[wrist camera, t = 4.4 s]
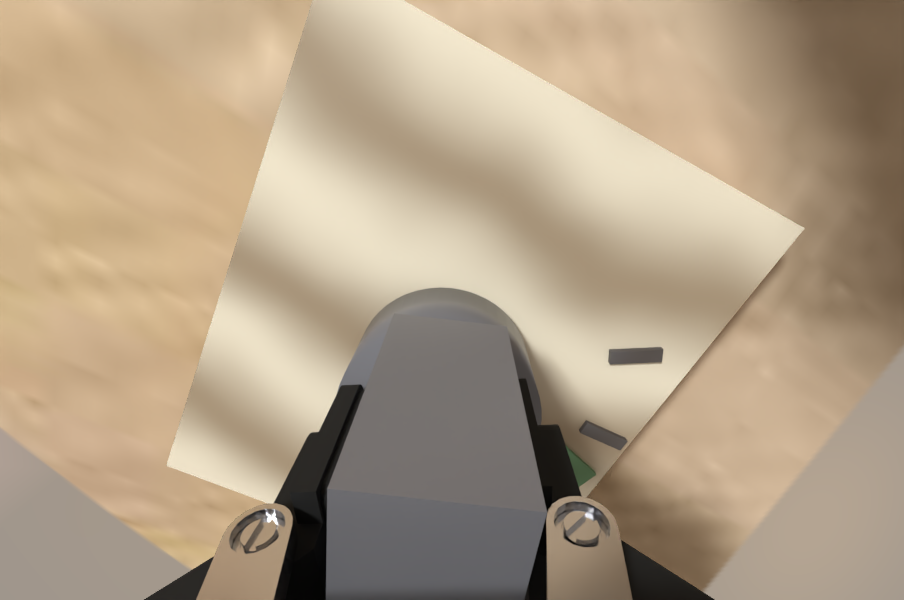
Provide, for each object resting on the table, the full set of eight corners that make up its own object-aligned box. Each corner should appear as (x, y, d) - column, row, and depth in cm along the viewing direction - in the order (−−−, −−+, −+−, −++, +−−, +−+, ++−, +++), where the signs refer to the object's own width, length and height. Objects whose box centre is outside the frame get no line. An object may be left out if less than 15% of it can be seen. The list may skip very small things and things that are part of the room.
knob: (362, 271, 14) (216, 476, 6) (543, 293, 14) (655, 524, 6) (351, 523, 18) (256, 855, 10) (492, 538, 18) (516, 879, 10)
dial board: (345, -19, 13) (324, -47, 11) (764, 216, 15) (808, 229, 13) (194, 433, 20) (163, 469, 18) (505, 553, 22) (509, 597, 20)
